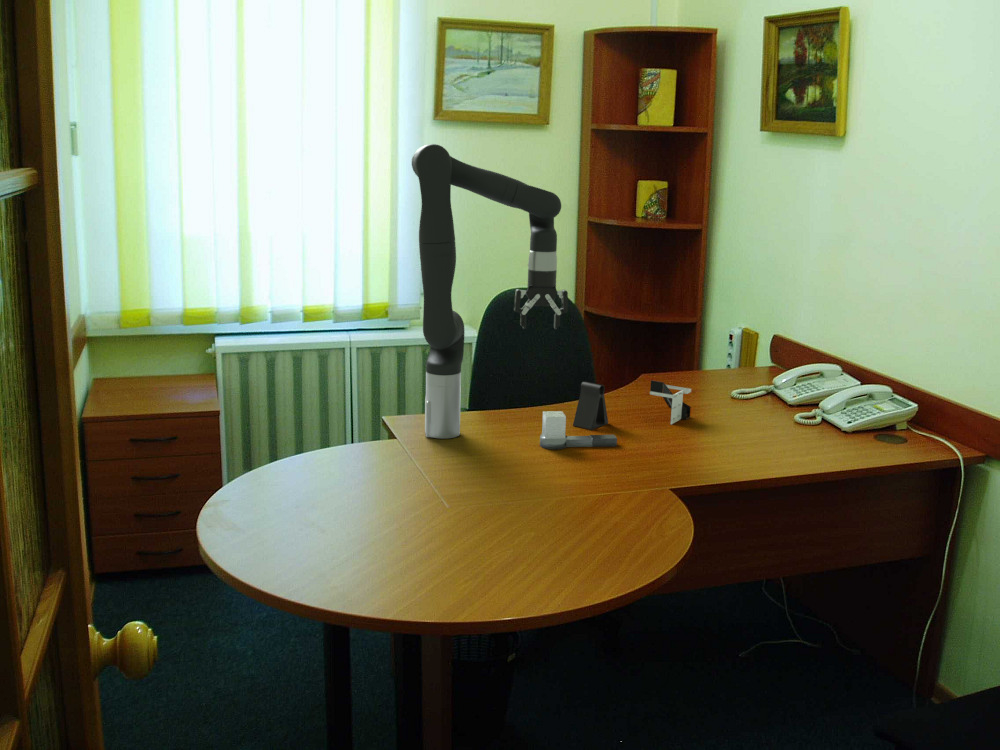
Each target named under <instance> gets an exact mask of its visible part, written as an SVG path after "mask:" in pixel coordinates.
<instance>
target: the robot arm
mask: <svg viewBox="0 0 1000 750" xmlns="http://www.w3.org/2000/svg"><path fill="white" fill-rule="evenodd" d="M411 168H412V171H413V173H414V175H416V177H417V178H418V181H419V190H420V197H421V210H420V218H419V228H418V246H419V248H418V249H419V258H420V259H419V260H420V270H421V283H422V291H423V293H422V294H423V315H422V333H423V337H424V340H425V341H426V343H427V344H428V345H429V352H428V355H427V356H428V357H427V360H426V361H425V396H424V397H425V398H424V433H425V438H432V439H433V438H434V439H443V440H444V439H452V438H457V437H459V436H460V434H461V400H462V399H461V398H462V397H461V394H462V393H461V389H462V388H461V387H462V386H461V385H462V365H463V361H464V355H465V353H464V352H465V323H464V320H463V318H462V316H461V315H460V313H458V312H457V311H455V310H453V302H452V301H453V300H452V290H453V289H452V288H453V283H454V278H455V272H456V266H457V248H456V247H457V246H456V245H457V244H456V235H455V226H454V225H455V224H454V217H453V210H452V201H451V199H452V198H451V189H452V187H451V186H453V187H454V186H455V187H457V188H461V189H464V190H466V191H470V192H471V193H473V194H476V195H479V196H482V197H484V198H486V199H488V200H491V201H493V202H496V203H499V204H501V205H504V206H507V207H510V208H515V209H519V210H521V211H524V212H526V213H528V218H529V219H528V220H529V228H530V238H529V239H530V240H529V255H528V260H527V261H528V263H527V288H526V289H519V288H517V289H515V294H514V303H513V311H514V312H515V313H516V314H517V313H518V314H519V315H520V316H519V317H520V320H519V324H520V326H521V327H522V329H523V330H526V329H527V317H528V316H527V314H528V312H529V310H531V309H532V308H533V307H534V306H535V307H541V306H542V307H549V306H550V307H551V309H552V310H553V311H554V314H553V328H554V330H557V329H559V327H561V317H562V314H567V313H568V312H569V299H568V298H569V295H568V294H569V293H568V291H567V290H566V289H561V290H557V269H558V255H557V251H558V250H557V249H558V248H557V247H558V233H557V231H556V229H555V218H556V217H557V216H558V215H559V214H560V213H561V209H562V202H561V199H560V198H559V196H558V195H557V194H556V193H554V192H552V191H549V190H546V189H542V188H539V187H537V186H532V185H529V184H527V183H525V182H523V181H521V180H519V179H515V178H513V177H511V176H508V175H505V174H502V173H498V172H497V171H492V170H490V169H489V170H488V169H485V168H481V167H477V166H475V165H471V164H468V163H465V162H463V161H461V160H459V159H457V158H455V157H453V156H451V155H450V153H449V151H448V150H447V149H446V148H445V147H444V146H442V145H440V144H436V143H431V144H430V143H429V144H425V145H422V146H420V147H419V148H418V149H417V150H416V151H415V152H414V153H413V155H412V157H411ZM524 296H526V297H527V298H528V299H527V301H526V302H525V303H524V305H523V306H522V307H521V299H523V298H524ZM556 297H559V299H561V307H560V308H559V307H558V306H557V304H556V303H555V299H556Z"/></svg>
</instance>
